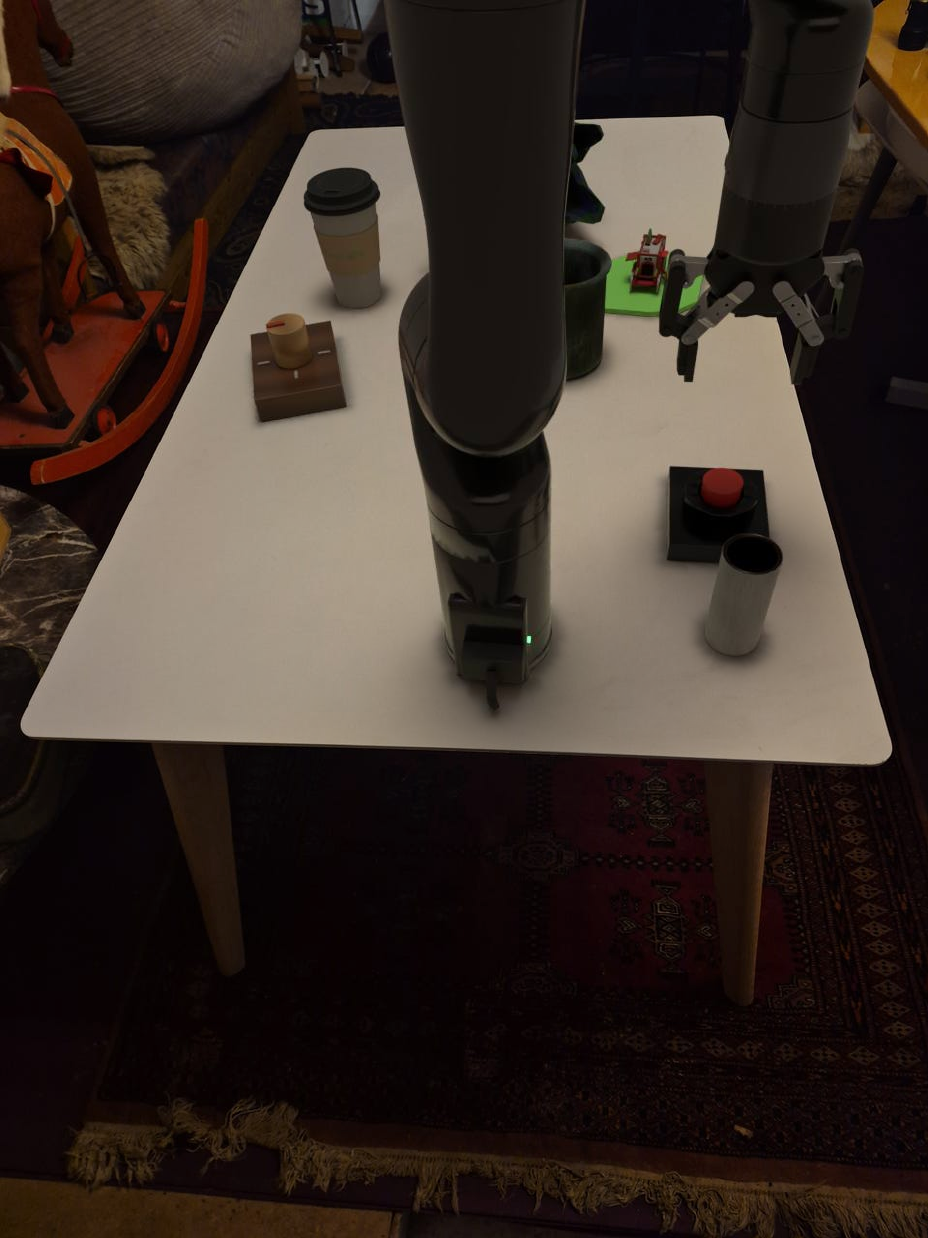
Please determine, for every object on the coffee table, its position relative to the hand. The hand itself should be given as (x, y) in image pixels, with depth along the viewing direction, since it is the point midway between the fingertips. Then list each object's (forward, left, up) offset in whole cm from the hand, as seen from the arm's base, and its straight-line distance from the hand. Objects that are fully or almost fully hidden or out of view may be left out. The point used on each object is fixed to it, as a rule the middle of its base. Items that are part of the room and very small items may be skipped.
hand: (741, 377), depth 71 cm
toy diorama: (+44, +8, -16) cm, 47 cm away
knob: (+21, +48, -13) cm, 54 cm away
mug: (+27, +19, -16) cm, 37 cm away
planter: (-14, -1, -16) cm, 22 cm away
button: (0, 0, -13) cm, 13 cm away
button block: (0, 0, -16) cm, 16 cm away
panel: (+21, +48, -16) cm, 55 cm away
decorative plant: (+57, +25, -16) cm, 64 cm away
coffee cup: (+40, +45, -16) cm, 62 cm away
